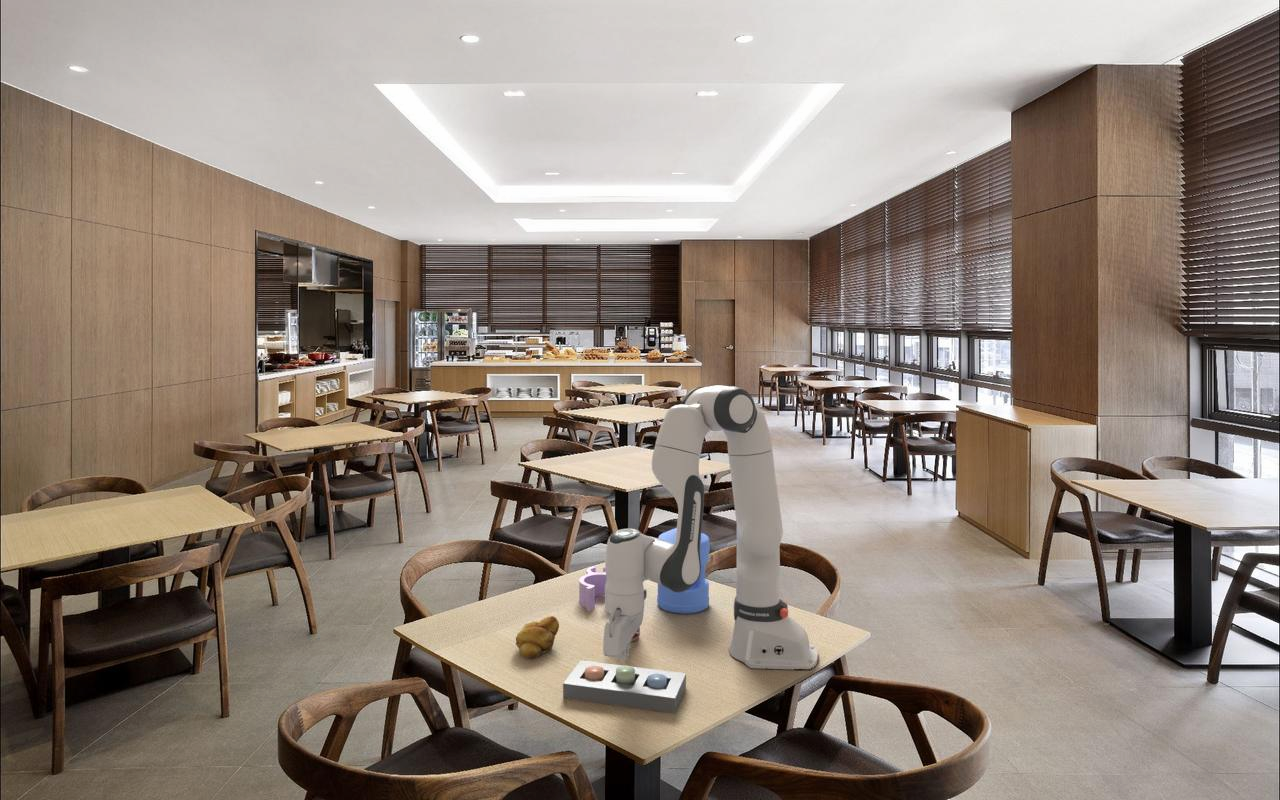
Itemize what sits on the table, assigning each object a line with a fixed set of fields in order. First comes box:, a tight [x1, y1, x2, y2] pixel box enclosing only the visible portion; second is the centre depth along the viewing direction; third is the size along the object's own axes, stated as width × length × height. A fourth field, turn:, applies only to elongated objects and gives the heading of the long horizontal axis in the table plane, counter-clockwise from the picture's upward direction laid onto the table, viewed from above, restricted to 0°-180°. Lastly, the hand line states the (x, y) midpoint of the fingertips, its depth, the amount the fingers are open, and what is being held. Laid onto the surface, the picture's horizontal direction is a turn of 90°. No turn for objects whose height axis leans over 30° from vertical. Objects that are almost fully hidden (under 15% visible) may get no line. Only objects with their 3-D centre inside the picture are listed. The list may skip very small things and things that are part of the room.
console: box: [562, 659, 687, 714], centre depth 174 cm, size 26×12×4 cm, turn 75°
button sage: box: [616, 665, 635, 685], centre depth 174 cm, size 4×4×3 cm
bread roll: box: [515, 615, 560, 659], centre depth 196 cm, size 13×10×8 cm
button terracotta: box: [585, 666, 604, 681], centre depth 176 cm, size 4×4×3 cm
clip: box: [578, 565, 607, 612], centre depth 233 cm, size 20×12×7 cm, turn 4°
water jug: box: [656, 527, 711, 615], centre depth 226 cm, size 16×16×28 cm
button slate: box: [647, 674, 667, 689], centre depth 172 cm, size 4×4×3 cm
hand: (623, 659), depth 174 cm, fingers closed
